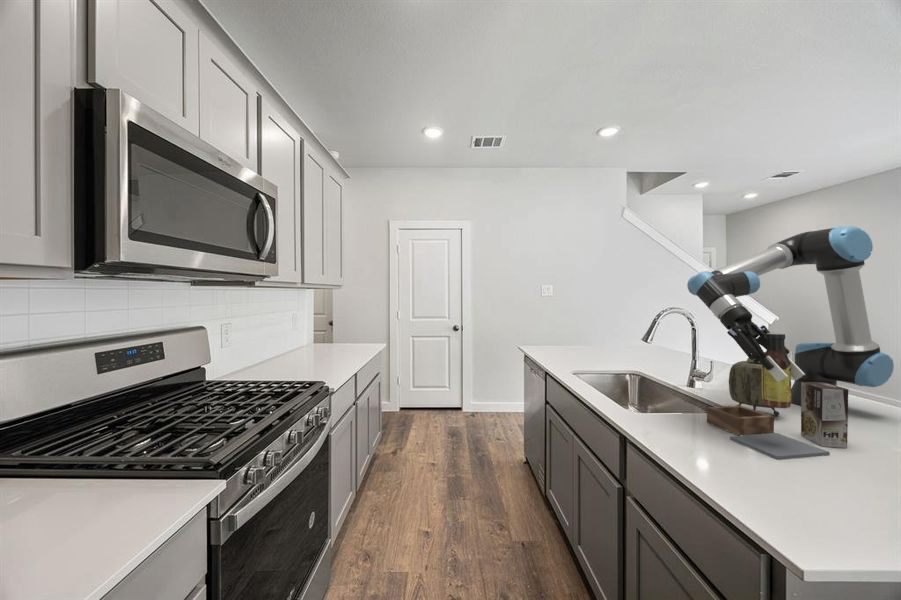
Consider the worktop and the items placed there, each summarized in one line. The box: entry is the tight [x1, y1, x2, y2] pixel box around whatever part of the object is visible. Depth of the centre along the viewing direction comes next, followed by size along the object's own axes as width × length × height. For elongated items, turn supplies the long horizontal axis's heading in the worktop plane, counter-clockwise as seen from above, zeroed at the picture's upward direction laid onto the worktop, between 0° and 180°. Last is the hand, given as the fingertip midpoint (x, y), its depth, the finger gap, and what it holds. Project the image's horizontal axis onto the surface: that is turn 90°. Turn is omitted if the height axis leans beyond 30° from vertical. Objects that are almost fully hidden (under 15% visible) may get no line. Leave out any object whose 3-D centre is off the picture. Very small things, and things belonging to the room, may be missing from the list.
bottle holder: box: [706, 404, 775, 436], centre depth 125 cm, size 12×12×5 cm
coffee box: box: [800, 382, 849, 449], centre depth 113 cm, size 9×6×16 cm
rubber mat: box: [729, 432, 831, 460], centre depth 110 cm, size 16×14×1 cm
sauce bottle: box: [762, 332, 792, 409], centre depth 109 cm, size 6×6×20 cm
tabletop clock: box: [728, 351, 780, 417], centre depth 138 cm, size 14×9×25 cm, turn 43°
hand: (791, 378), depth 106 cm, fingers closed on sauce bottle, 6 cm apart
